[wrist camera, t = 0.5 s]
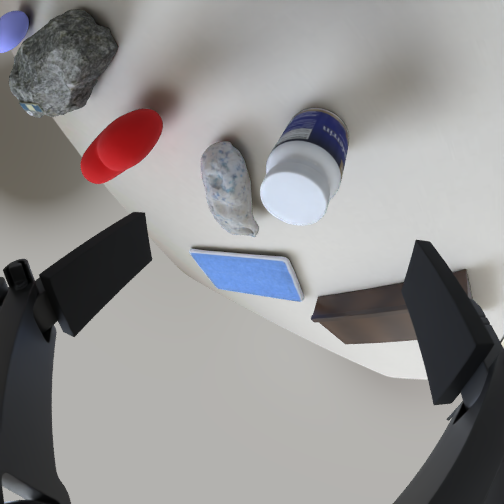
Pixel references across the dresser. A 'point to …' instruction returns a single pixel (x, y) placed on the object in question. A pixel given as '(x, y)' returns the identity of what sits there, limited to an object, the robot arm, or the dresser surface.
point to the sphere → (12, 29)
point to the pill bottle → (305, 167)
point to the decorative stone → (228, 189)
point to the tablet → (250, 273)
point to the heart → (121, 145)
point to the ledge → (371, 314)
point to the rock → (61, 64)
